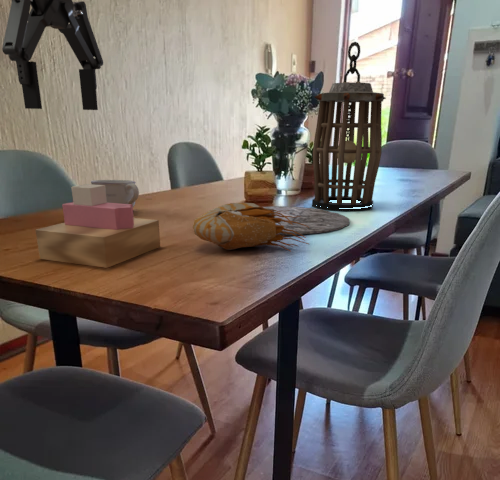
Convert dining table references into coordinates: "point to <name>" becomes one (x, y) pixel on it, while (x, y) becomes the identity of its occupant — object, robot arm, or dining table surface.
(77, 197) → the pink-and-white stacked brick
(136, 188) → the teacup
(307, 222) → the grey-brown round placemat
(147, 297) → the dining table surface
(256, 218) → the nautilus
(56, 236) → the block
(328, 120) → the lantern
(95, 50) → the robot arm
